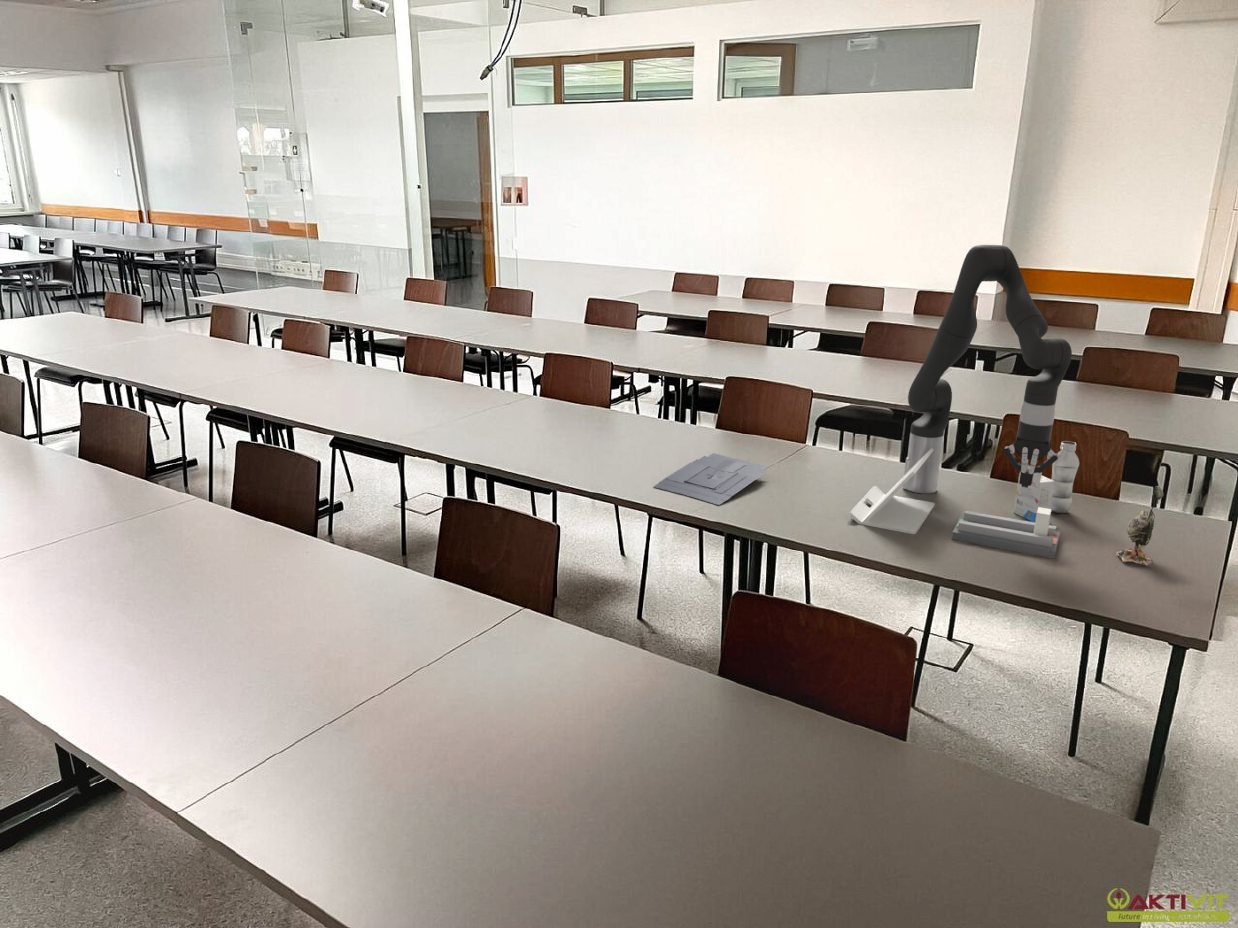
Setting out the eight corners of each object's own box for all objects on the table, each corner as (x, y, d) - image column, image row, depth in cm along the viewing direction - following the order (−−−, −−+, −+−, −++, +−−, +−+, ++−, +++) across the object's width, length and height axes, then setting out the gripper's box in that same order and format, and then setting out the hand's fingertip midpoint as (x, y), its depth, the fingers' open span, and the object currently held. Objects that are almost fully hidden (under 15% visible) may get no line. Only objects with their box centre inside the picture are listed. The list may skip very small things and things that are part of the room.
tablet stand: (935, 505, 248) (942, 448, 242) (915, 535, 227) (922, 473, 222) (871, 494, 256) (876, 439, 251) (846, 522, 236) (852, 462, 230)
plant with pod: (1156, 554, 215) (1173, 478, 209) (1149, 570, 207) (1166, 491, 200) (1119, 546, 220) (1134, 472, 213) (1111, 561, 211) (1126, 484, 205)
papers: (774, 475, 268) (774, 464, 267) (720, 513, 248) (719, 502, 246) (708, 459, 283) (708, 449, 281) (652, 494, 262) (651, 483, 261)
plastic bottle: (1047, 505, 247) (1058, 438, 241) (1073, 511, 243) (1085, 442, 237) (1040, 511, 242) (1052, 443, 236) (1067, 517, 238) (1079, 448, 232)
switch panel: (951, 539, 224) (953, 524, 223) (961, 521, 236) (962, 507, 235) (1054, 558, 213) (1056, 543, 212) (1058, 538, 224) (1061, 524, 223)
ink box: (1049, 521, 236) (1057, 470, 231) (1033, 523, 234) (1041, 471, 230) (1027, 510, 243) (1035, 460, 239) (1012, 512, 242) (1020, 462, 238)
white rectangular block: (1032, 538, 219) (1036, 512, 217) (1034, 532, 222) (1038, 507, 220) (1045, 540, 217) (1050, 514, 215) (1047, 534, 221) (1051, 509, 219)
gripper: (1005, 419, 213) (994, 486, 218) (1065, 427, 207) (1052, 495, 212) (1009, 412, 219) (998, 477, 225) (1067, 420, 213) (1055, 486, 218)
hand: (1025, 486), depth 218 cm, fingers closed
